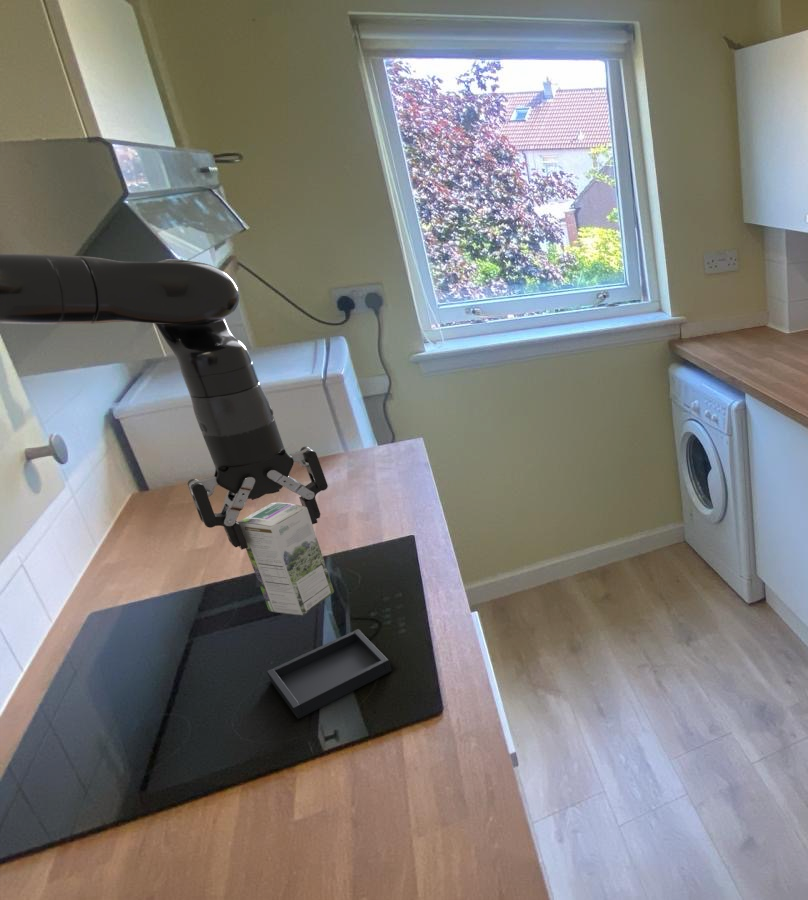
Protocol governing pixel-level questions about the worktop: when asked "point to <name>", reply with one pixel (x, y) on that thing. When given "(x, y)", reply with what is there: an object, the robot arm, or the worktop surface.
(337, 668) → the tray
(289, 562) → the syrup box
